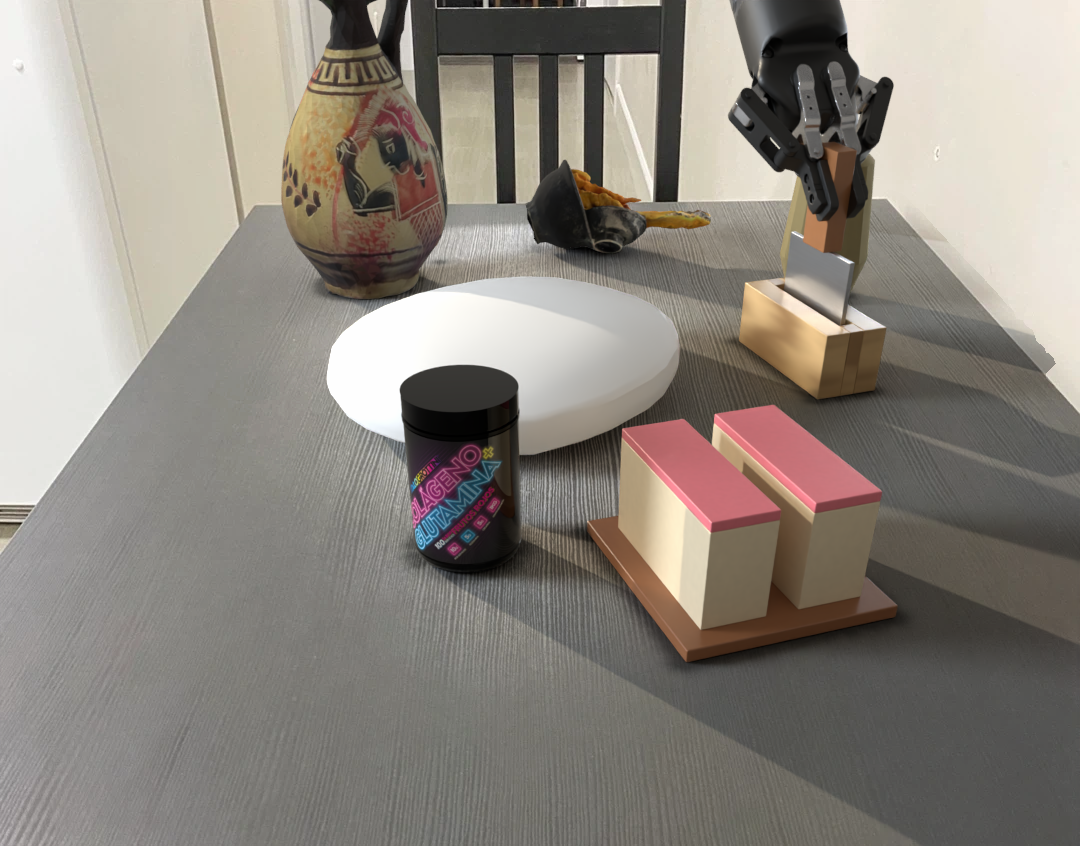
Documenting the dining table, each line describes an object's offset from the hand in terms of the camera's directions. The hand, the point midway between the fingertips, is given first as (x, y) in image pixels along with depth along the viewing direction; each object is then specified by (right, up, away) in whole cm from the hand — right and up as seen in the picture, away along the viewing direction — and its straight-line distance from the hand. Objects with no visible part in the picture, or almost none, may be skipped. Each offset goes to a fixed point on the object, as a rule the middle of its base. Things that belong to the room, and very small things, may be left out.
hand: (842, 213), depth 81 cm
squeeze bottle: (+4, +3, +23) cm, 23 cm away
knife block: (-1, -8, +9) cm, 12 cm away
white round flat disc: (-25, -12, +5) cm, 28 cm away
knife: (-1, -6, +8) cm, 10 cm away
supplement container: (-27, -27, -13) cm, 41 cm away
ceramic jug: (-38, +5, +27) cm, 47 cm away
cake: (-11, -29, -16) cm, 35 cm away
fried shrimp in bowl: (-15, +12, +35) cm, 40 cm away
